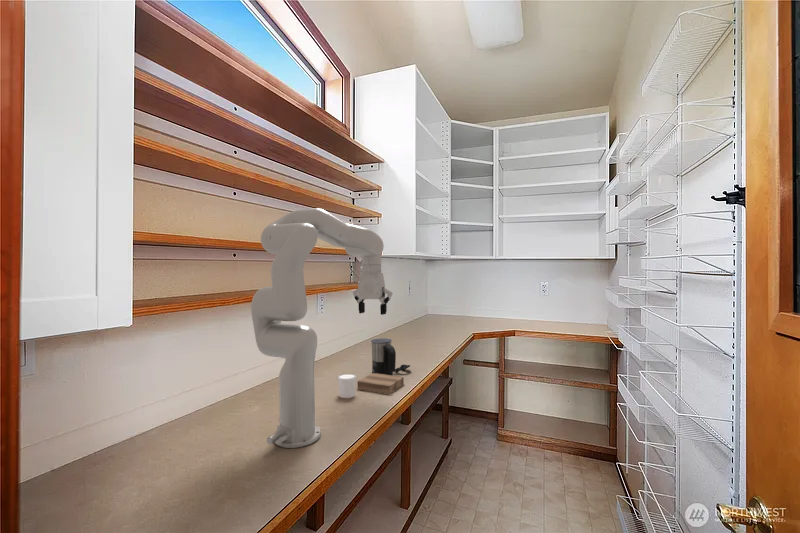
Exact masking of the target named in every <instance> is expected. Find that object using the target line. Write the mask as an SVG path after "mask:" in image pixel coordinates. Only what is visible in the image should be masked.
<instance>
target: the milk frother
mask: <svg viewBox="0 0 800 533" xmlns="http://www.w3.org/2000/svg"><path fill="white" fill-rule="evenodd" d="M392 341H393V340H392V339H391V338H387V337H385V338H381V337H380V338H376V339H375V338H373V339H371V340H370V342H371V359H372V360H371V363H372V364H371V370H372V371H371V374H372V373H378V374H385V375H393V373H395V372H398V371H402V372H403V371H405V370H407V369H408V368H410V367H411V365H410V364H404V363H403V364H401V365H400V366H398V367H396V363H397V361H396V358H397V357H396V356H397V354H396V349H395V347H394V346H393V345H392Z"/></svg>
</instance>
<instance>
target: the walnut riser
mask: <svg viewBox="0 0 800 533" xmlns="http://www.w3.org/2000/svg"><path fill="white" fill-rule="evenodd" d="M404 380H405V379H404V376H398V375H393V374H391V375H385V374H378V373H372V372H371V373H370V374H368V375H367V376H365V377H363V378H362V379H359V380H358V381H357V380H356V384H357V390H360V391H367V392H372V391H373V392H372V393H378V392H379V393H378V394H384V393H386V395H391V394H393V393H394V392H396V391H397V390H398V389H400V388H401V387H402V386H404ZM396 389H397V390H396ZM393 391H394V392H393ZM390 393H391V394H390Z"/></svg>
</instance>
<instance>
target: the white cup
mask: <svg viewBox="0 0 800 533" xmlns="http://www.w3.org/2000/svg"><path fill="white" fill-rule="evenodd" d="M337 381H338V382H337V384H338V392H339V394H338V395H339V397H340V398H343V399H350V398H353V397H355V396H356V384H357V375H356V374H354V373H344V374H340V375H338V376H337Z"/></svg>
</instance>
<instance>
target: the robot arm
mask: <svg viewBox="0 0 800 533" xmlns="http://www.w3.org/2000/svg"><path fill="white" fill-rule="evenodd" d="M318 239H319V240H322V241H324V242H325V243H328V244H329V245H332V246H334V247H338V248H344V250H345V252H346V254H347V255H348V256H350V257H354V258H356V257H359V258H360V257H361V266H359V271H361V272H360V273H359V276H358V277H359V278H358V284H357V285H358V288H356V289H355V290H353V291H352V295H353V297H354V299H355V301H356V303H357V304H358V314H365V312H366V311H365V310H366V308H365V306H366V305H365V304H366V303H365V302H364V301H365V300H378V301H379V302H380V303H381V304H380V308H379V310H380V315H381V316H382V315H383V316H384V315H386V314H387V311H388V309H387V304H388V302H389V301H390V300H391V298H392V296H393V292H392V291H391V290H389V289H387V288H386V284H385V277H384V273H383V272H382V253H383V251H384V246H385V245H384V242H383V239H382V238H381V236H380V235H379V234H378V233H376V232H374V231H373V230H371V229H369V228H367V227H361V226H359V225H354V224H350V223H347V222H344V221H343V220H341V219H339V218H338V217H336V216H334V215H333V214H331V213H329V212H328V211H326V210H324V209H323V208H314V207H313V208H305V209H296V210H293V211H290V212H289V213H286V214H285V215H283V216H281V217H280V218H279V219H277V220H275V221H273V222H271V223H270V224H268V225H267V226H266V227H265V228H264V229H263V230H262V232H261V236H260V245H261V246H262V248H263V250H265V251H266V252H268V253H269V254H272V255H275V256H274V259H273V260H272V263H271V267H270V278H271V286H263V287H260V288H259V289H258V290H257V291H256V292H255V293H254V295H253V297H252V299H251V304H250V310H251V319H252V325H253V330H254V331H253V332H254V338H255V344H256V347H257V348H258V350H259V352H260V353H261V354H262V355H265V356H268V357H274V358H281V359H284V363H283V365H282V367H281V369H280V371H279V375H278V388H279V389H278V390H279V391H278V392H279V393H278V394H279V399H278V400H279V424H278V425H277V427H276V431H275V432H274V434H272V435H269V436H268V437H266V442H267V444H268V445H272V444H273V443H275V445H277V446H279V447H281V448H287V449H293V448H294V449H295V448H302V447H307V446H309V445H311V444H313V443H315V442H317V441H318V439H319V438H320V437H321V435H322V434H321V433H322V431H321V428H320V427H319V426H318V425H316V411H315V410H316V406H315V402H316V401H315V400H316V399H315V392H316V390H315V361H316V352H317V348H318V336H317V333H316V332H315V329H314V328H312V327H310V326H308V325H305V324H299V323H297V324H295V323H282V322H298V321H301V320H302V319H304V318H305V316H306V314H307V311H308V302H307V301H308V299H307V292H306V284H305V277H304V276H305V275H304V269H305V268H304V266H305V263H306V261H307V259H308V257H309V255H310V253H311V252H312V250H314V248H315V247H316V245H317V242H318Z"/></svg>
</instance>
